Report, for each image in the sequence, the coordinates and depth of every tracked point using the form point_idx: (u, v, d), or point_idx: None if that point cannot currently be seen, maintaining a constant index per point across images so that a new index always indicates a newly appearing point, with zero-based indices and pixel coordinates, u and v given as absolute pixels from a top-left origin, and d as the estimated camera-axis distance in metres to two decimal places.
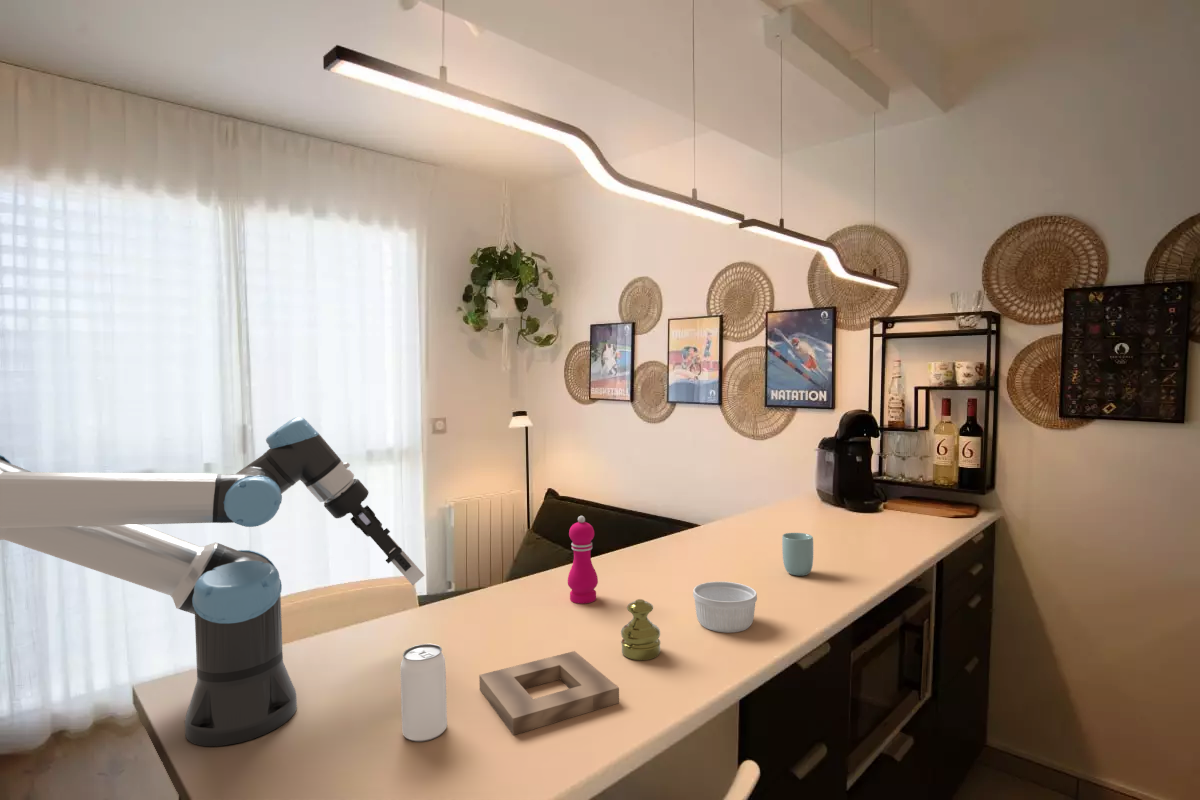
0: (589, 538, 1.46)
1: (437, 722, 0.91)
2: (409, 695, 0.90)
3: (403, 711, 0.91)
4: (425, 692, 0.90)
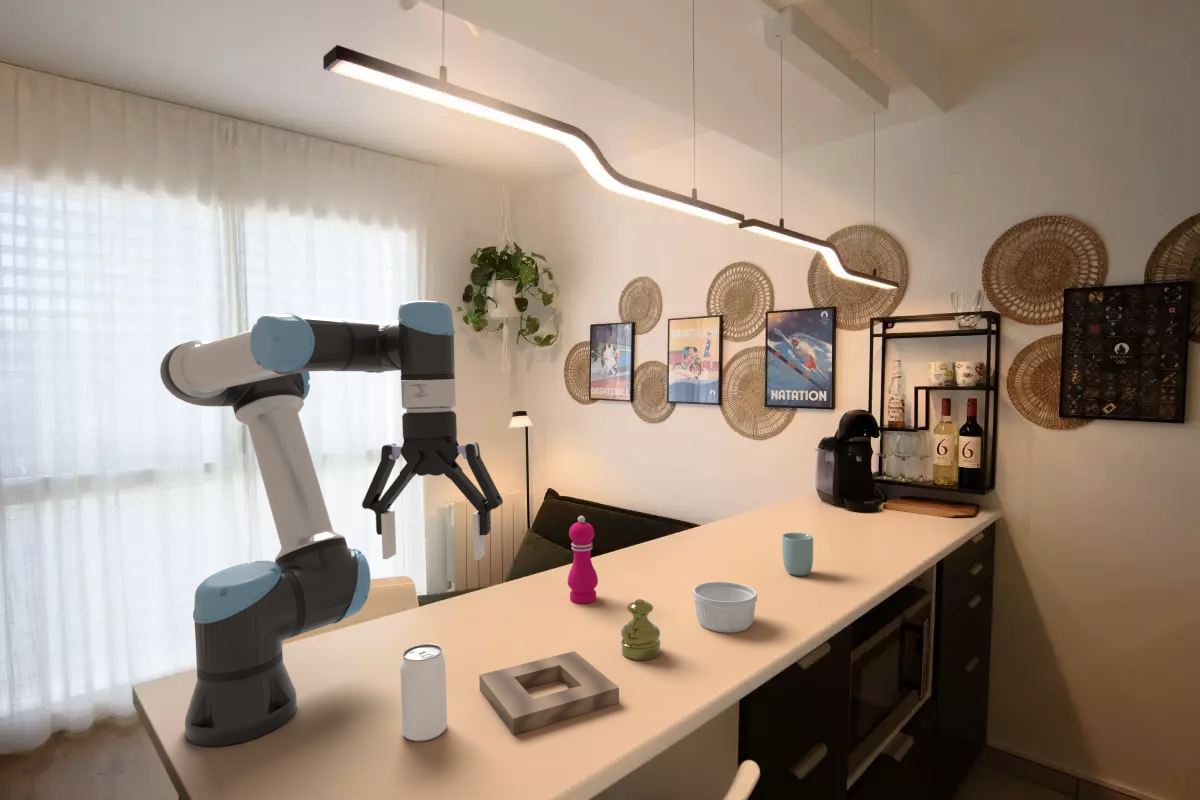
0: (589, 538, 1.46)
1: (437, 722, 0.91)
2: (409, 696, 0.90)
3: (403, 711, 0.91)
4: (425, 692, 0.90)
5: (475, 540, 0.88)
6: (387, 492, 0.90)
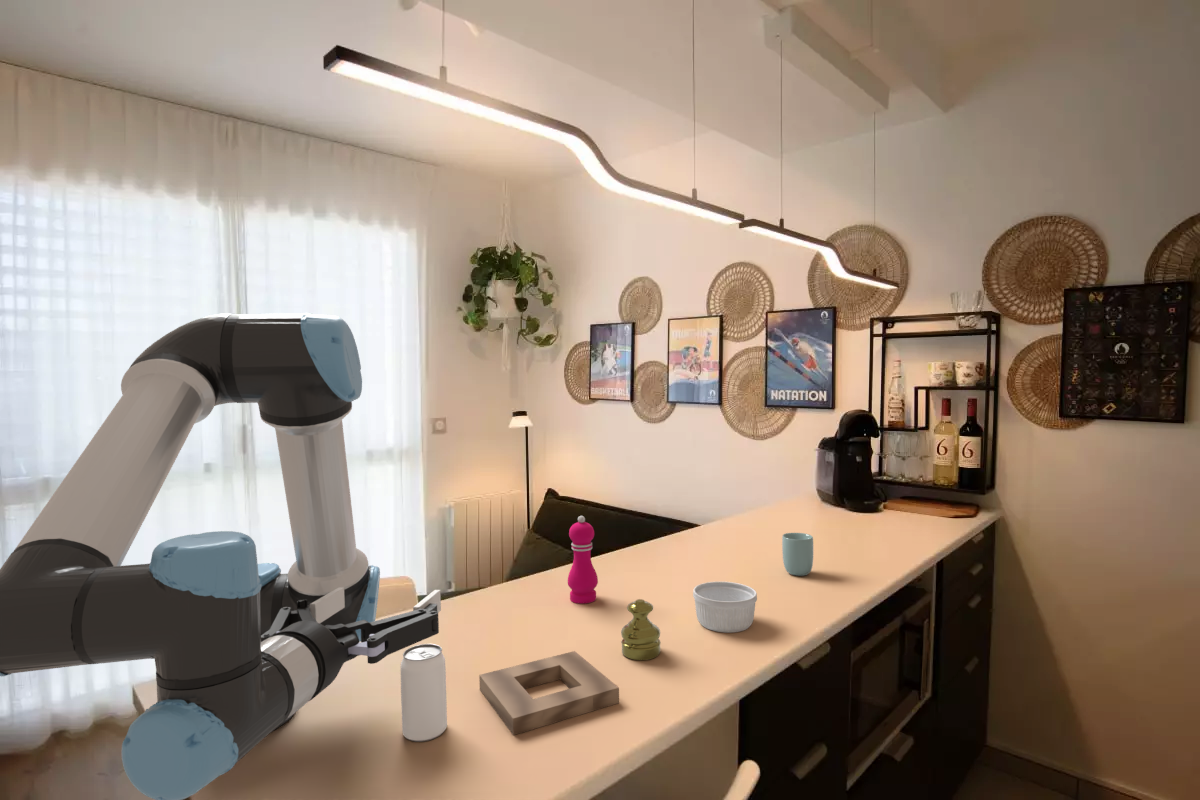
0: (589, 538, 1.46)
1: (437, 721, 0.91)
2: (409, 695, 0.90)
3: (403, 711, 0.91)
4: (425, 692, 0.90)
5: None
6: None
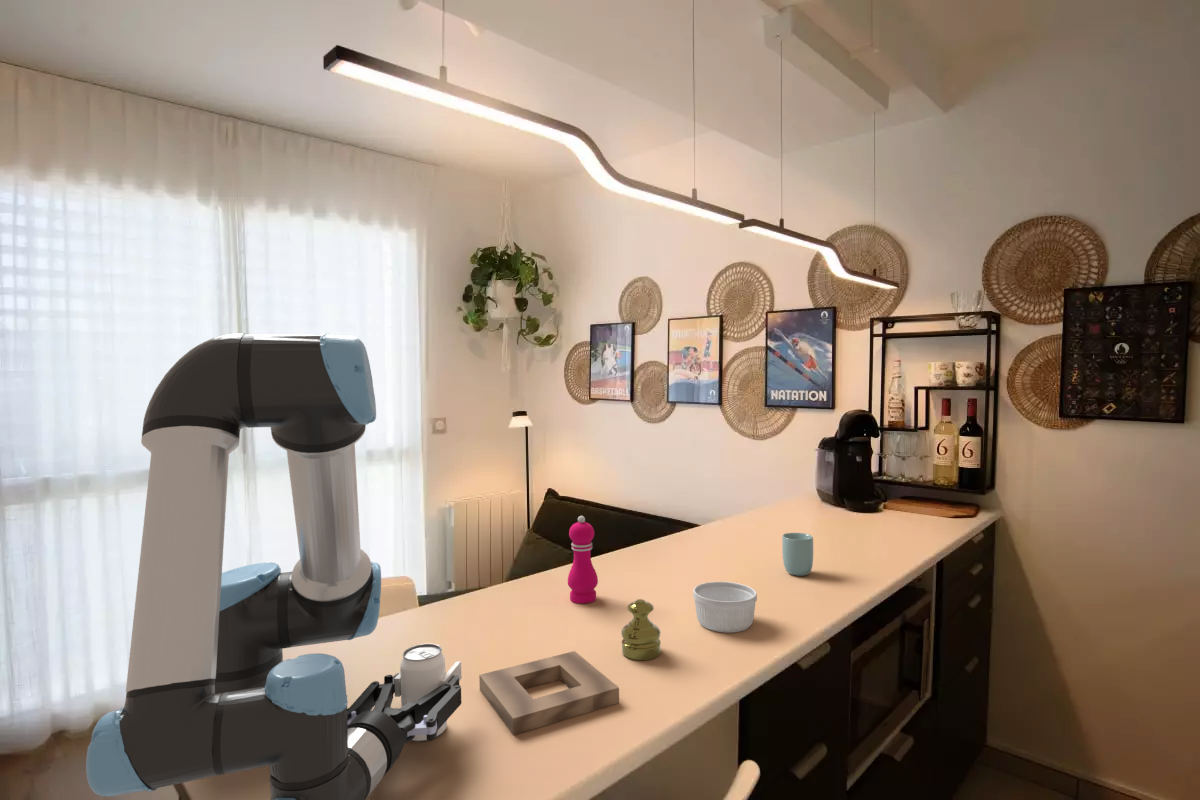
0: (589, 538, 1.46)
1: None
2: (409, 695, 0.90)
3: None
4: (425, 692, 0.90)
5: None
6: None
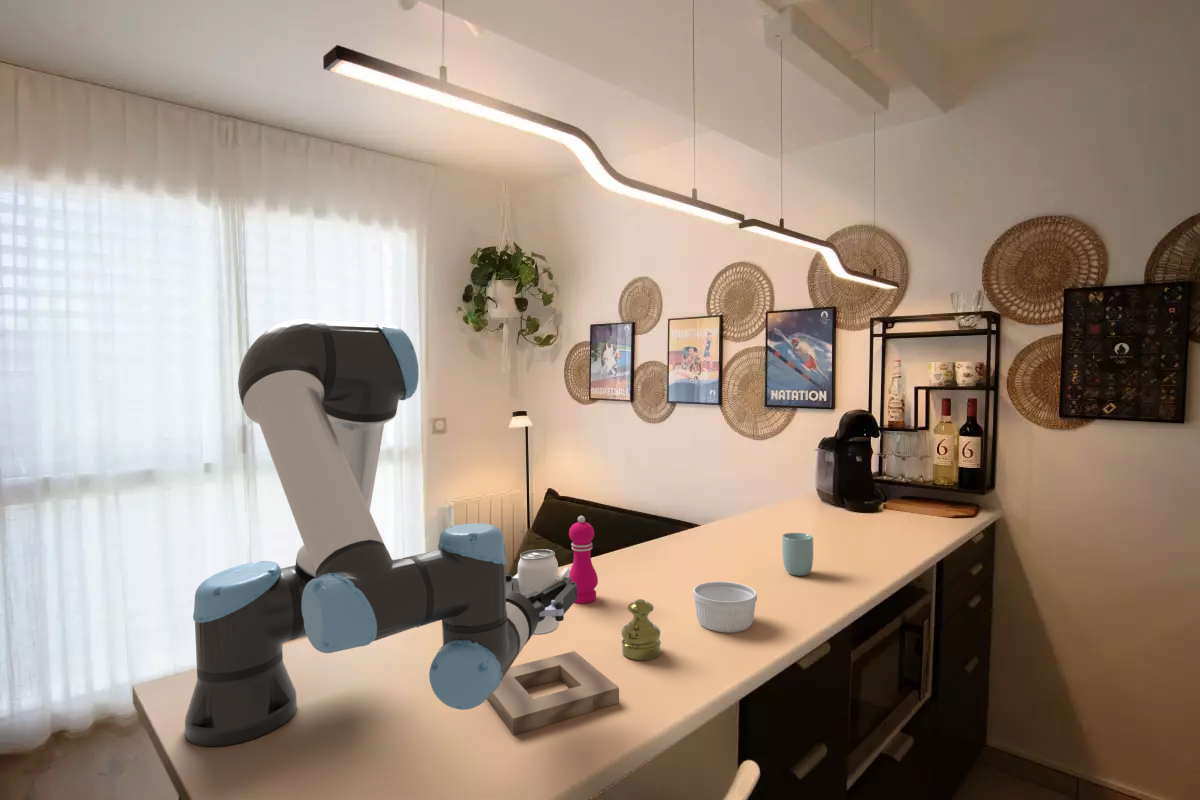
0: (589, 538, 1.46)
1: None
2: (528, 592, 0.98)
3: None
4: (543, 589, 0.98)
5: None
6: None
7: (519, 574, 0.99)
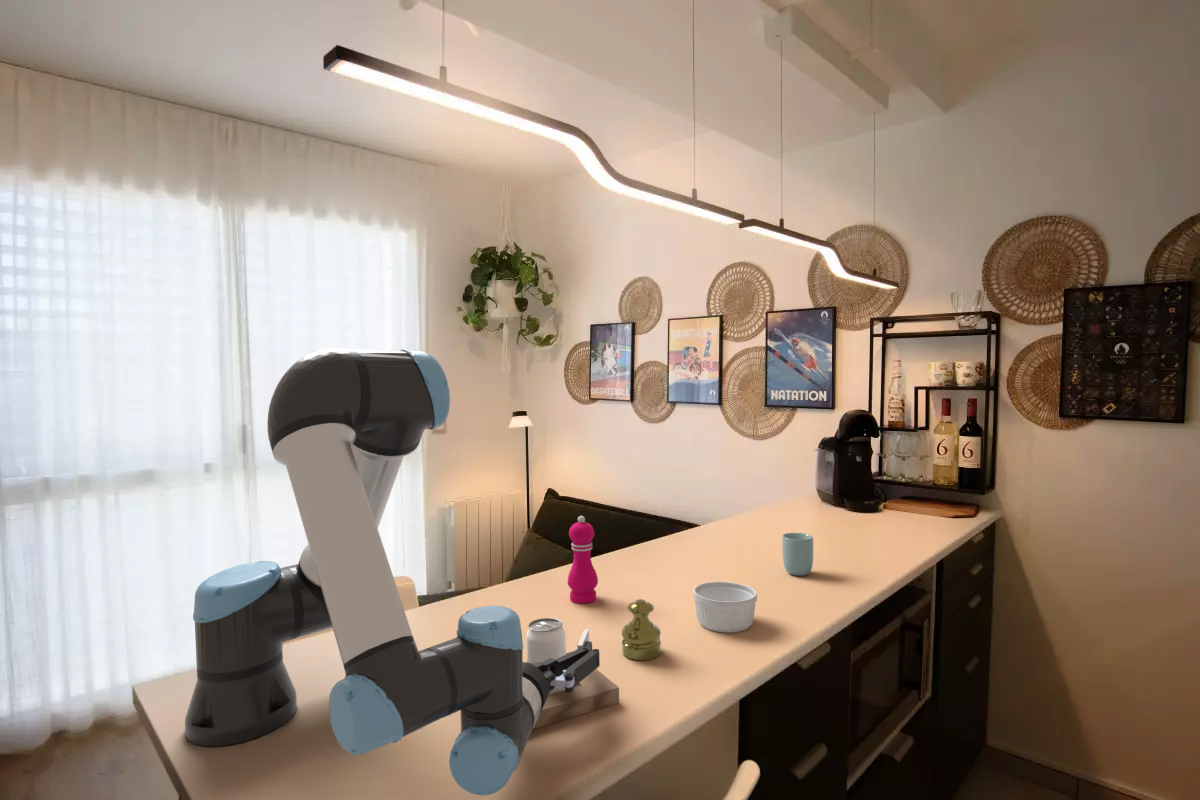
0: (589, 538, 1.46)
1: (561, 687, 1.01)
2: None
3: None
4: None
5: None
6: None
7: (528, 645, 1.01)
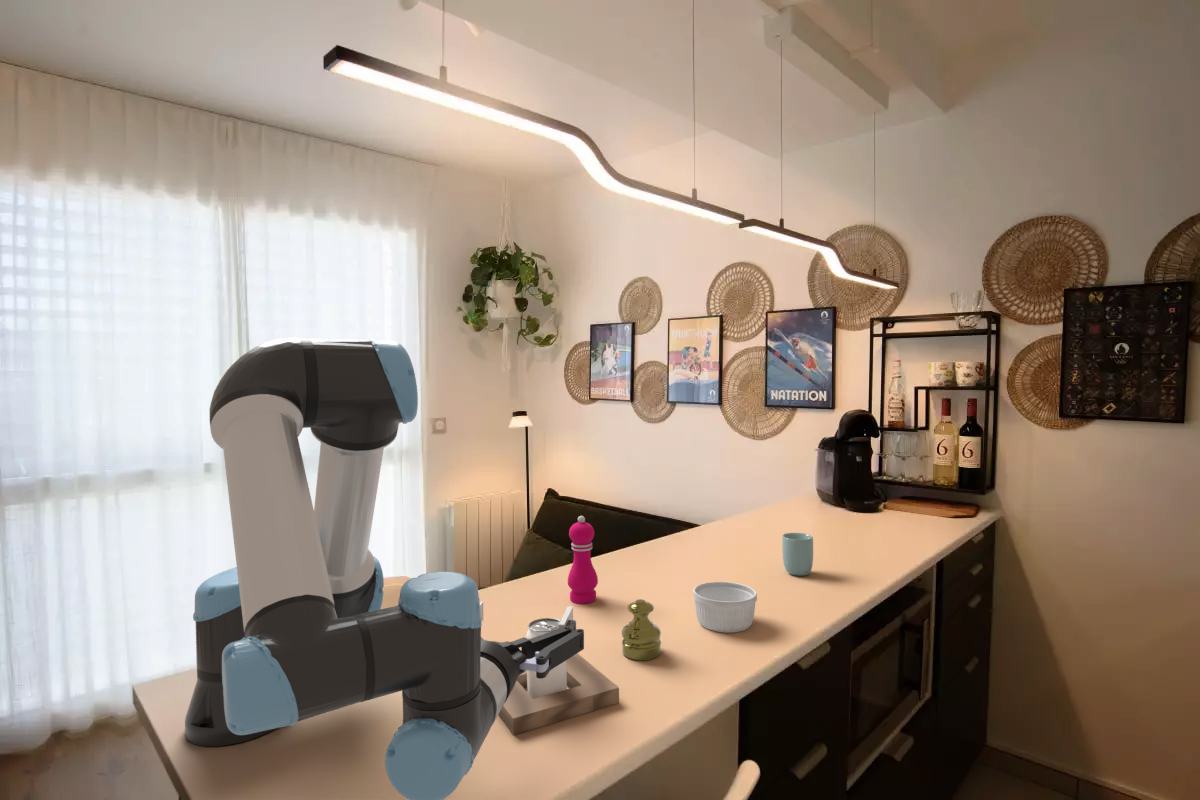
0: (589, 538, 1.46)
1: (561, 687, 1.01)
2: None
3: (530, 678, 1.01)
4: None
5: None
6: None
7: None
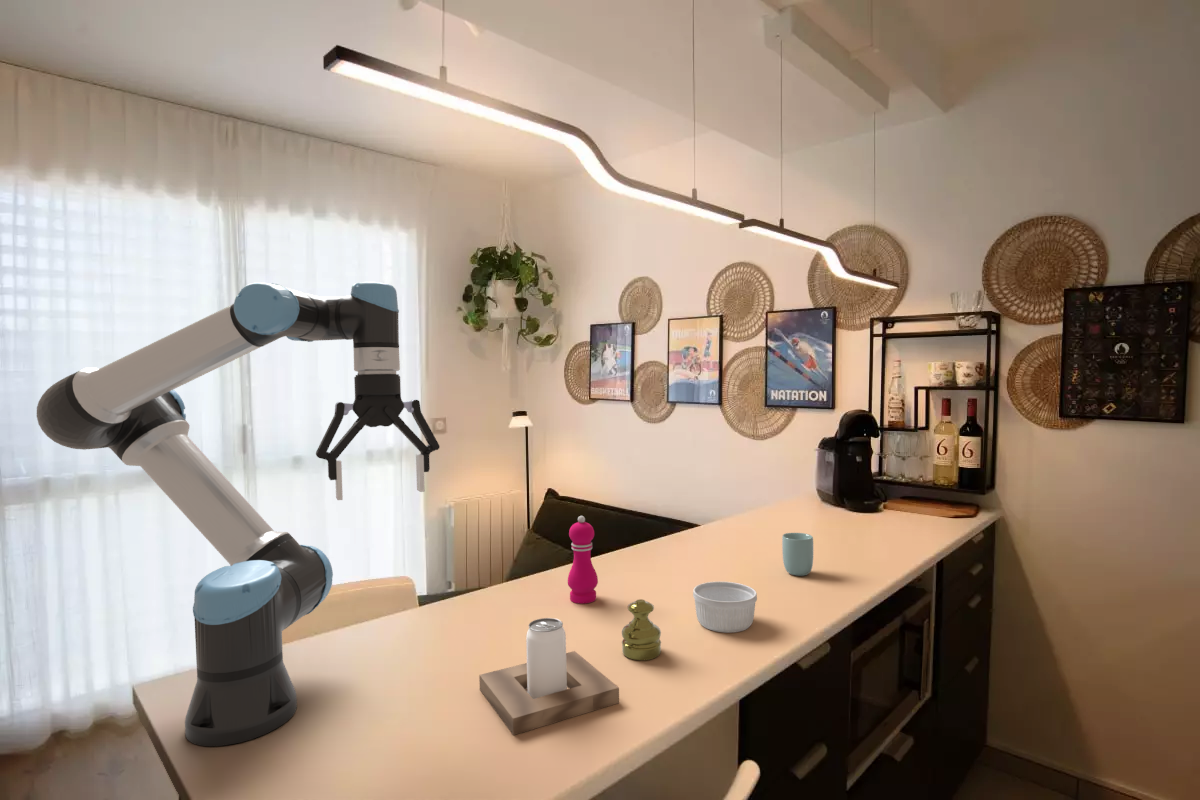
0: (589, 538, 1.46)
1: (561, 687, 1.01)
2: (537, 663, 1.00)
3: (530, 678, 1.01)
4: (551, 660, 1.00)
5: (421, 476, 1.11)
6: (342, 442, 1.05)
7: (528, 645, 1.01)
